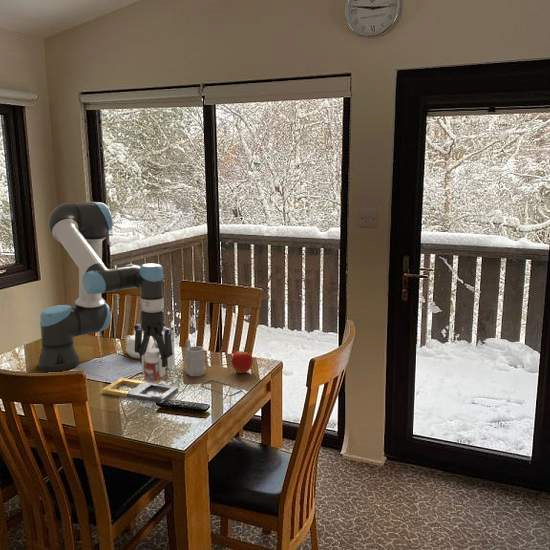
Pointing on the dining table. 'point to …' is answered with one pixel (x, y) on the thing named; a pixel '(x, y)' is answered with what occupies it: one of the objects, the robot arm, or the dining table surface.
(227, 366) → the dining table surface
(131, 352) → the teapot
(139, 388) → the multicoloured piece
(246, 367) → the apple
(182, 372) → the dining table surface
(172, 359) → the syrup box
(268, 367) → the dining table surface
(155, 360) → the pill bottle
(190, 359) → the mug
